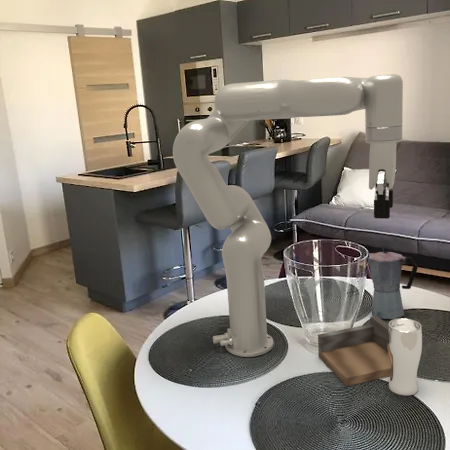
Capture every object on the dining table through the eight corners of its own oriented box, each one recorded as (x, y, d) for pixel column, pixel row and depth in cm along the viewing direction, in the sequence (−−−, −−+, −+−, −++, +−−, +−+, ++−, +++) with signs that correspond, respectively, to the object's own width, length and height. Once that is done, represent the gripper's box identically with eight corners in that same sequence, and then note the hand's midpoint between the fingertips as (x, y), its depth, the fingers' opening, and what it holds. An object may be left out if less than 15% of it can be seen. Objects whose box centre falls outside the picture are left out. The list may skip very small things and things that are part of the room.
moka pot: (369, 302, 155) (369, 239, 149) (421, 312, 146) (423, 246, 140) (357, 314, 147) (357, 249, 142) (411, 326, 138) (413, 256, 133)
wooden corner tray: (346, 386, 113) (346, 353, 111) (318, 356, 126) (317, 327, 124) (409, 371, 117) (410, 340, 115) (375, 344, 130) (376, 315, 128)
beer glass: (422, 398, 107) (425, 333, 103) (388, 396, 109) (389, 332, 105) (417, 379, 114) (419, 318, 110) (385, 378, 115) (386, 317, 111)
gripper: (369, 131, 118) (370, 203, 122) (360, 140, 103) (361, 222, 107) (404, 130, 115) (403, 203, 120) (400, 138, 100) (399, 223, 104)
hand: (383, 212), depth 113 cm, fingers open, 9 cm apart
